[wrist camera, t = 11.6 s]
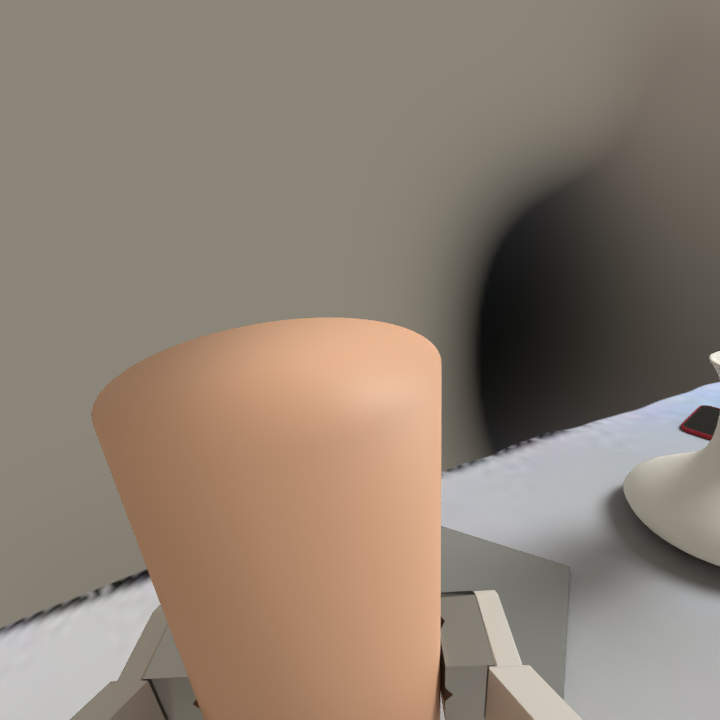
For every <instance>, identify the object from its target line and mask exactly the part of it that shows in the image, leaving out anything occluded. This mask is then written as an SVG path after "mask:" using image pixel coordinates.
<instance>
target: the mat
mask: <svg viewBox="0 0 720 720" xmlns="http://www.w3.org/2000/svg"><path fill="white" fill-rule="evenodd" d="M569 577H570V567H569V566H565V565H562V564H559V563H556V562H553V561H550V560H546V559H543V558H540V557H537V556H534V555H531V554H528V553H524V552H521V551H518V550H515V549H512V548H509V547H506V546H502V545H499V544H496V543H493V542H490V541H487V540H484V539H480V538H477V537H474V536H471V535H468V534H465V533H461V532H458V531H455V530H452V529H449V528H446V527H443V526H441V592H456V591H485V590H495V591H496V593H497V594H498V596H499V599H500V602H501V604H502V607H503V610H504V613H505V616H506V619H507V622H508V625H509V628H510V630H511V633H512V636H513V639H514V642H515V645H516V648H517V651H518V654H519V656H520V659H521V662H522V665H530V666H531V667H532V668H533V669H534V670H535V671H536V673H537V674H538V675H539V676H540V677H541V678H542V679H543V680H544V681H545V682H546V683H547V684H548V685H549V686H550V687H551V688H552V689H553V690H554V691H555V692H556V693H557V694H558V695H559V696H560V697H561V698H562V699H563V698H564V678H565V658H566V638H567V618H568V597H569Z"/></svg>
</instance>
